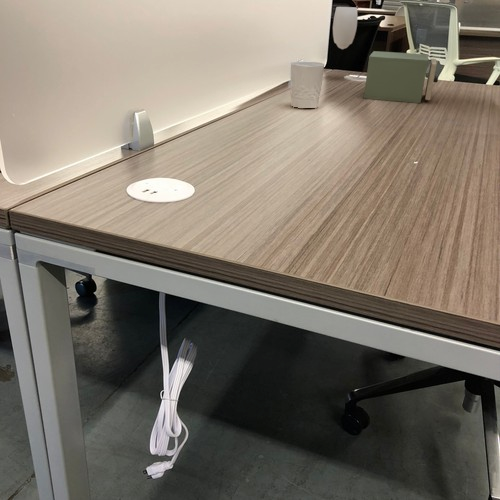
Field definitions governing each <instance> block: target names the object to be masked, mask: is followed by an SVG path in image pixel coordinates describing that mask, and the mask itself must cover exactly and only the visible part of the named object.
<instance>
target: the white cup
mask: <svg viewBox="0 0 500 500" xmlns="http://www.w3.org/2000/svg"><path fill="white" fill-rule="evenodd" d="M324 71H325V63H323V62H318V61H310V60H309V61H308V60H307V61H306V60H301V61H300V60H298V61H297V60H296V61H292V62H290V86H289V87H290V88H289V89H290V107H292V106H293V107H292V108H294V107H298V108H315V109H318V108H319V103H320V97H321V91H322V85H323V78H324ZM317 107H318V108H317ZM298 108H297V109H298Z"/></svg>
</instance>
